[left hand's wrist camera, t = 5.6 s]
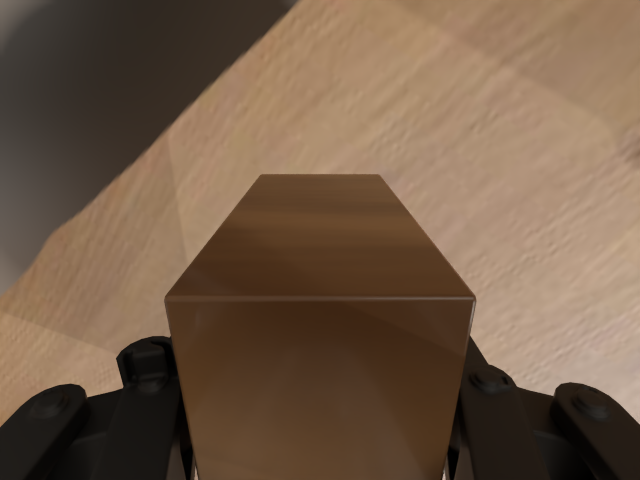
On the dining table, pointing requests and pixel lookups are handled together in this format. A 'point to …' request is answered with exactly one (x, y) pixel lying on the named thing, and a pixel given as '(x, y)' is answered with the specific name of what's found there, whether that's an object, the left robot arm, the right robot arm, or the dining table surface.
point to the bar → (320, 336)
